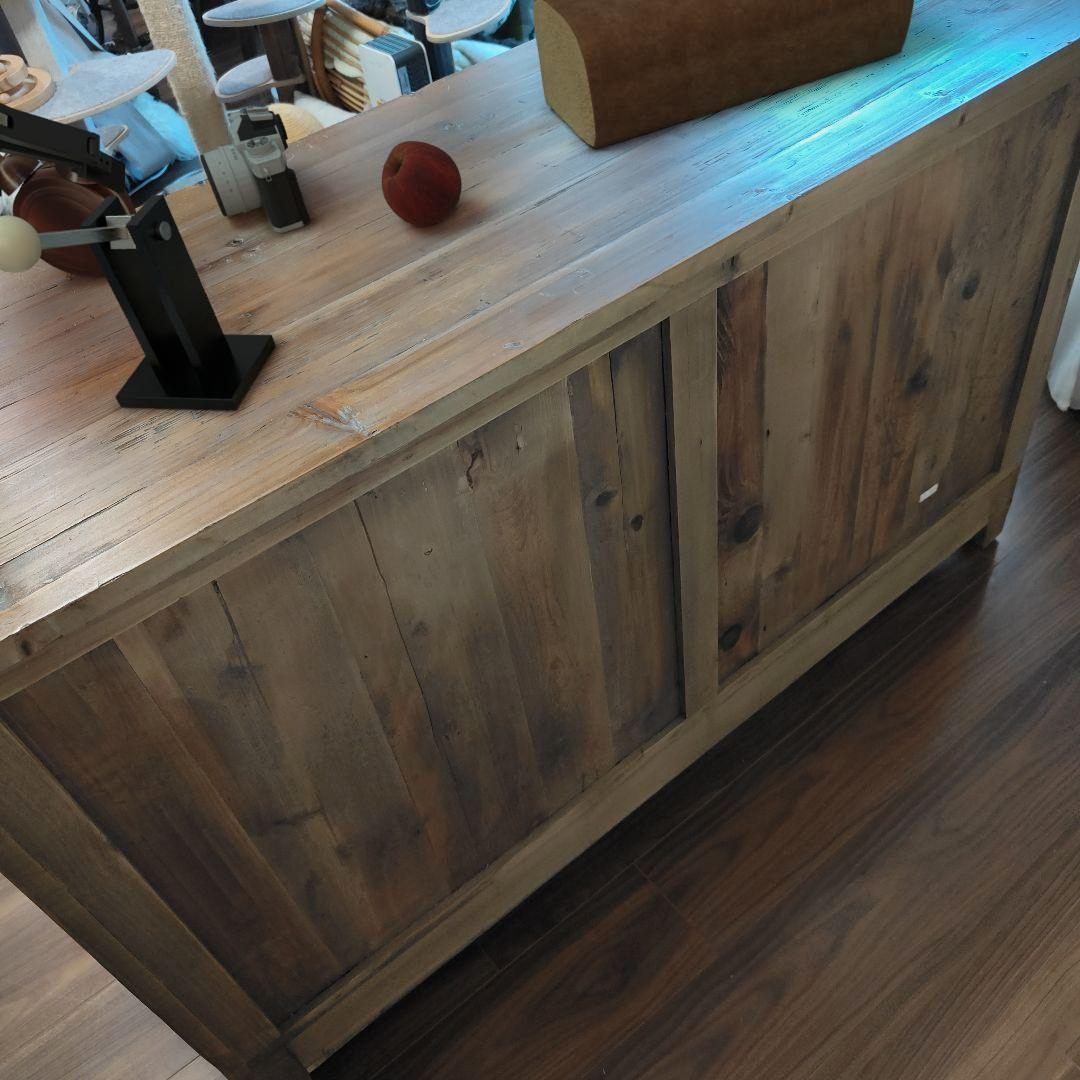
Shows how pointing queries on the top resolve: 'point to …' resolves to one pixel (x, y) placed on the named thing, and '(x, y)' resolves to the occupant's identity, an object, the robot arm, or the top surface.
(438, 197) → the apple
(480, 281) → the top surface
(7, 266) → the lever
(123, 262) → the lever bracket
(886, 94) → the top surface
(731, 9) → the bread
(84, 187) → the alarm clock
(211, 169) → the camera
